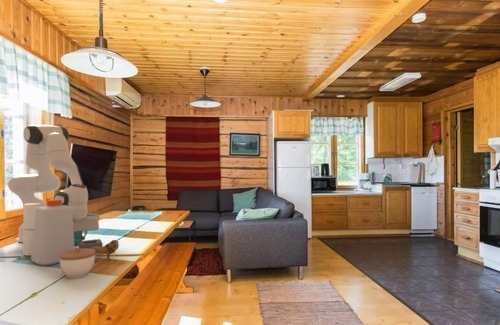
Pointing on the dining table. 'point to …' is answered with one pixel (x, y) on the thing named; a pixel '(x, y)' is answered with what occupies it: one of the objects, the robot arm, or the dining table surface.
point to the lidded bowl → (77, 262)
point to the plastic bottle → (52, 232)
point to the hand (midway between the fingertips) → (77, 240)
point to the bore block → (89, 244)
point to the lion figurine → (107, 249)
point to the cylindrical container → (29, 226)
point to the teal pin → (77, 237)
